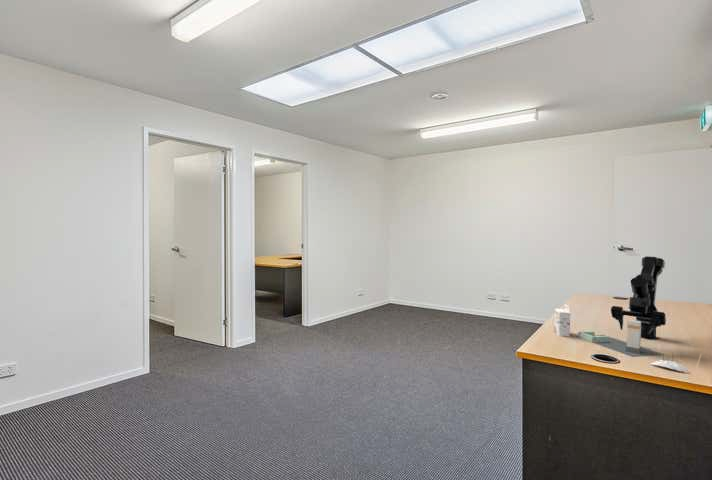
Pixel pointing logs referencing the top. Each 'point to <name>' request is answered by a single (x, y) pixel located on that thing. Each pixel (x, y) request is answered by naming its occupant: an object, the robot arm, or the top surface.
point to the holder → (592, 337)
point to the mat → (624, 347)
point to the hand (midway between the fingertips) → (634, 331)
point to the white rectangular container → (633, 336)
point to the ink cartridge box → (562, 321)
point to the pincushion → (670, 365)
